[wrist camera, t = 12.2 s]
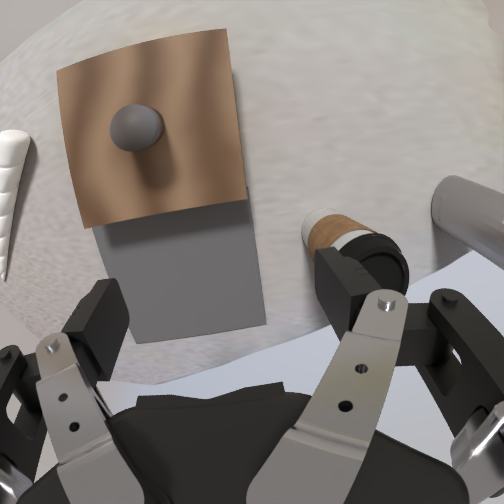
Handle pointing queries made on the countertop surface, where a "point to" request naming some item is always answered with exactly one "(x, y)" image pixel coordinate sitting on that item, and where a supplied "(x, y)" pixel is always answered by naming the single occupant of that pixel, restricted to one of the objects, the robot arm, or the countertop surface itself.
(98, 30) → the countertop surface
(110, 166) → the walnut lid
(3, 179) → the unicorn horn
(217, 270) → the rubber mat
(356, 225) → the coffee cup
